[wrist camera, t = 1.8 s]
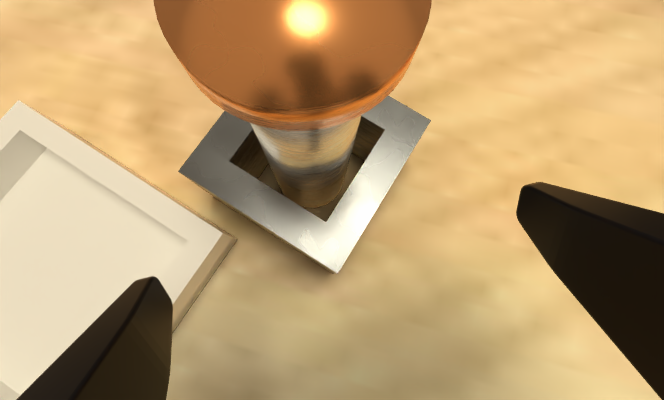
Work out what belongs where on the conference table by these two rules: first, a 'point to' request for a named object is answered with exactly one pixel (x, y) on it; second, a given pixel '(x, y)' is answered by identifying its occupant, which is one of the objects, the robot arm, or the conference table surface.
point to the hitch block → (285, 215)
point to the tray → (82, 242)
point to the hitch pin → (297, 74)
